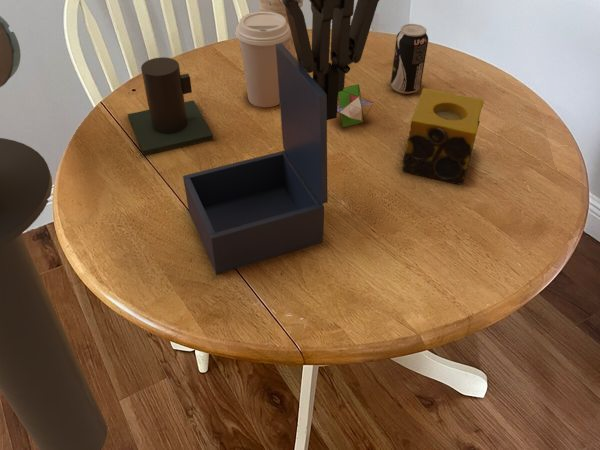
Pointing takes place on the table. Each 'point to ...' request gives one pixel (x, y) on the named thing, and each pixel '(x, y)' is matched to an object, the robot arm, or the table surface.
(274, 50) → the coffee cup
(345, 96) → the geometric puzzle
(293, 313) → the table surface
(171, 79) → the brown mug
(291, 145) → the chest lid
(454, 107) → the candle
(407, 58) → the beverage can
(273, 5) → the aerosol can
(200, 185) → the chest
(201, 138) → the trivet
